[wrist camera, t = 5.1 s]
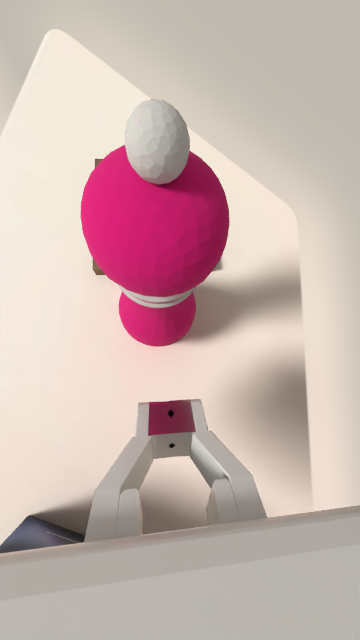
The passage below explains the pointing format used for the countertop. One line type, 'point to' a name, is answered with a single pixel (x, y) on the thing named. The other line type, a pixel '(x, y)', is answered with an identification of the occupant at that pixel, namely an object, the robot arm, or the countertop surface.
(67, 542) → the small box
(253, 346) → the countertop surface
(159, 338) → the pepper mill
